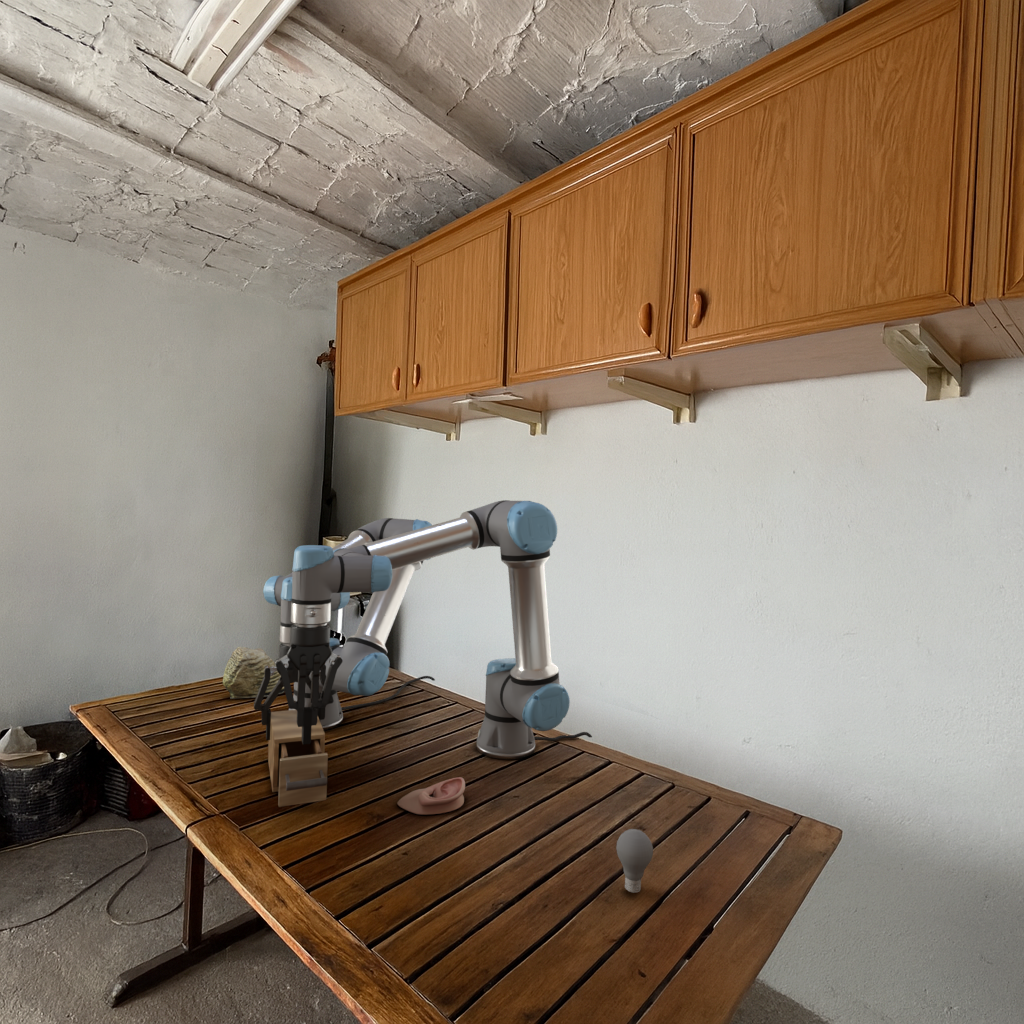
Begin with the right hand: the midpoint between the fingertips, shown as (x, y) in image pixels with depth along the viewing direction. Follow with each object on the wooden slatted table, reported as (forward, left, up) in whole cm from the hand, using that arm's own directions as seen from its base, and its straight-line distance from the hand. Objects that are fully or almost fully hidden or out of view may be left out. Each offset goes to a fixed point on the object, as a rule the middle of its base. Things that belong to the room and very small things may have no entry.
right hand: (306, 741), depth 126 cm
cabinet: (+1, -21, -15) cm, 25 cm away
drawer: (0, -8, -13) cm, 16 cm away
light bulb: (-50, +42, -15) cm, 67 cm away
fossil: (+10, -81, -15) cm, 83 cm away
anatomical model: (-26, +3, -15) cm, 30 cm away
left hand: (+1, -26, -8) cm, 28 cm away
